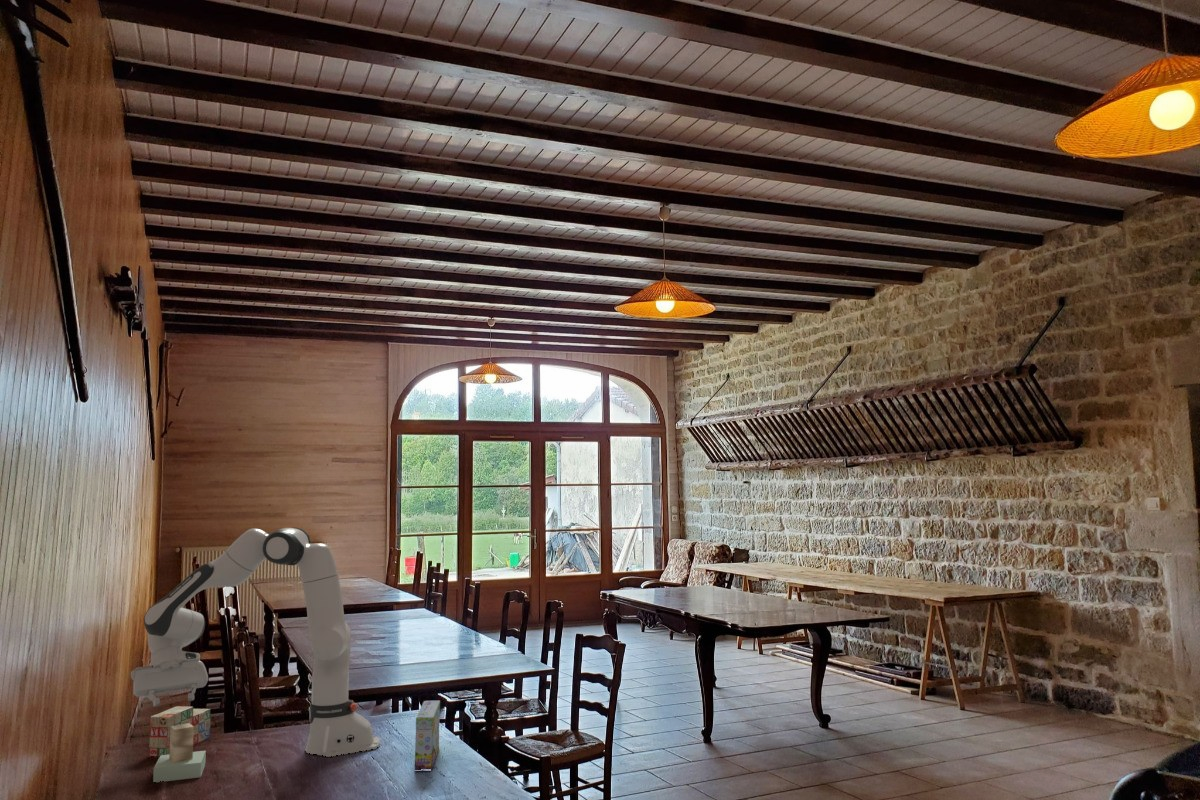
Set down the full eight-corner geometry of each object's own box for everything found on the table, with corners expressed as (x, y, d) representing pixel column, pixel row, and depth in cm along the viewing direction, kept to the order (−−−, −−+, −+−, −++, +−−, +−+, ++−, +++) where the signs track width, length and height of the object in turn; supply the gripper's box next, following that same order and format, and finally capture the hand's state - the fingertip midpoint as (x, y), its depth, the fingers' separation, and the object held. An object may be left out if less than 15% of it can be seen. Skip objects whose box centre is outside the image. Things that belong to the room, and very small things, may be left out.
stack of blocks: (193, 737, 276) (194, 698, 278) (210, 737, 275) (211, 699, 277) (148, 757, 255) (150, 716, 257) (166, 758, 254) (168, 716, 256)
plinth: (205, 764, 247) (205, 750, 248) (200, 777, 236) (201, 762, 236) (160, 769, 243) (160, 755, 244) (153, 782, 232) (153, 767, 233)
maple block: (188, 755, 244) (189, 723, 245) (192, 759, 240) (193, 726, 241) (169, 758, 240) (170, 726, 241) (173, 762, 237) (174, 729, 238)
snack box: (433, 771, 237) (434, 717, 239) (413, 772, 237) (414, 717, 238) (440, 749, 258) (440, 699, 260) (422, 750, 258) (422, 699, 259)
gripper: (131, 662, 249) (137, 701, 241) (205, 652, 262) (212, 690, 254) (128, 675, 252) (133, 714, 244) (200, 665, 265) (208, 702, 257)
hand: (174, 702), depth 249 cm, fingers open, 8 cm apart
